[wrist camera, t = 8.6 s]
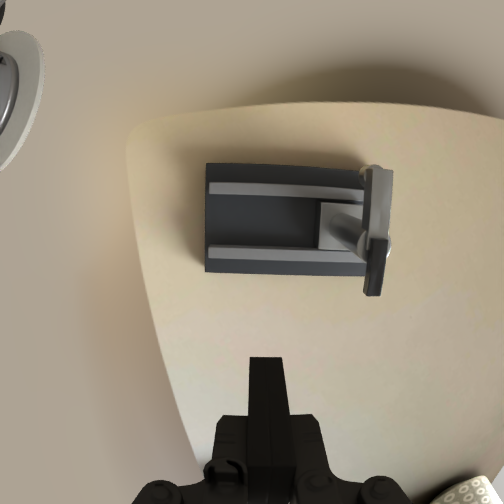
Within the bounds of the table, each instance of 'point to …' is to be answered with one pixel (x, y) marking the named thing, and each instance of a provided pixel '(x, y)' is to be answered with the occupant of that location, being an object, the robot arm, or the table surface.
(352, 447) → the table surface
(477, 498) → the planter
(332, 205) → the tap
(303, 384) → the table surface
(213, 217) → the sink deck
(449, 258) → the table surface
